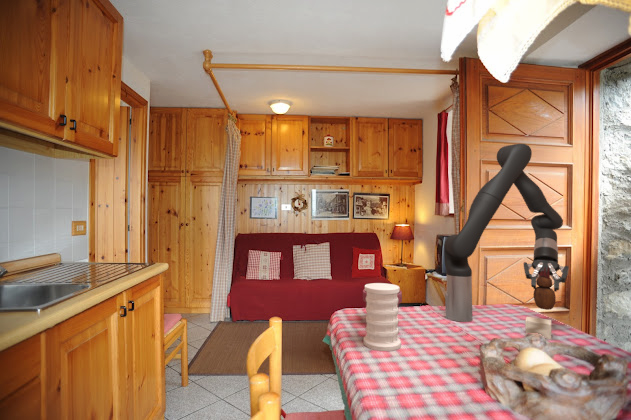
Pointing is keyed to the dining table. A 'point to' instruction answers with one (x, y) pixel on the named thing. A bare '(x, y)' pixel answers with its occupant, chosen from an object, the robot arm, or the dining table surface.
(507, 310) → the dining table surface
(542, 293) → the wooden figurine
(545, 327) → the limewashed block
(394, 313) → the decorative container
